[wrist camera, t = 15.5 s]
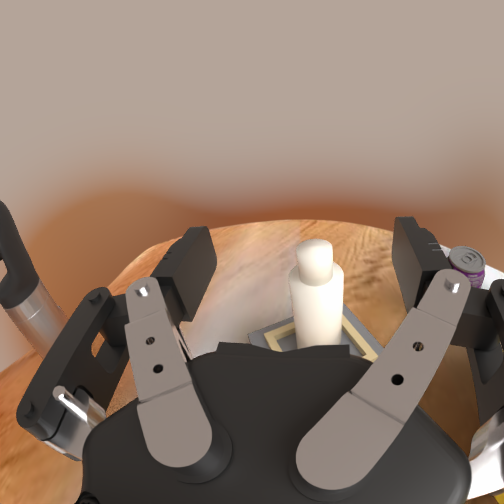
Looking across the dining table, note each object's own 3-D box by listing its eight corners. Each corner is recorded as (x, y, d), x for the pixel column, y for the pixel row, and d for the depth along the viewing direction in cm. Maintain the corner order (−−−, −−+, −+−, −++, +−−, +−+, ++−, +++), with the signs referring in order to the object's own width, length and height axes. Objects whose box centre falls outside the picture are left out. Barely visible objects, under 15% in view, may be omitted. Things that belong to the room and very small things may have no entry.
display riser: (255, 359, 41) (246, 329, 37) (337, 324, 43) (338, 292, 39) (292, 437, 29) (288, 416, 25) (387, 387, 31) (398, 358, 28)
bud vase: (291, 345, 34) (275, 244, 26) (327, 329, 35) (324, 227, 27) (309, 375, 30) (301, 274, 22) (347, 357, 31) (355, 252, 23)
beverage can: (448, 296, 41) (464, 239, 35) (473, 320, 35) (496, 262, 29) (422, 312, 40) (437, 253, 34) (448, 339, 34) (471, 279, 28)
